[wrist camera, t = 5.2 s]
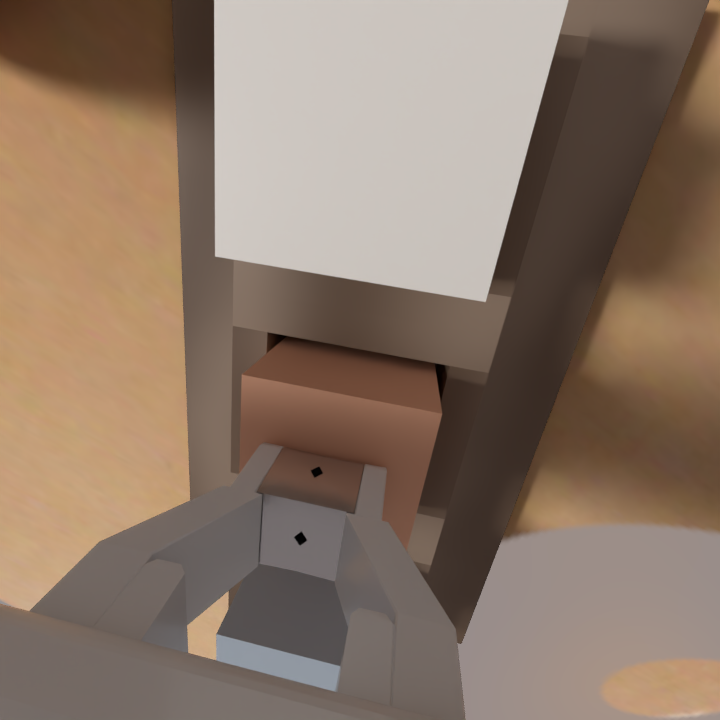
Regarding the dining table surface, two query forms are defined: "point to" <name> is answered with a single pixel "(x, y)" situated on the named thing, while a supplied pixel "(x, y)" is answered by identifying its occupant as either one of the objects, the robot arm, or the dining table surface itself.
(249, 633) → the key slate
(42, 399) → the dining table surface
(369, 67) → the key white
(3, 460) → the dining table surface
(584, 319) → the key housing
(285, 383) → the key terracotta
